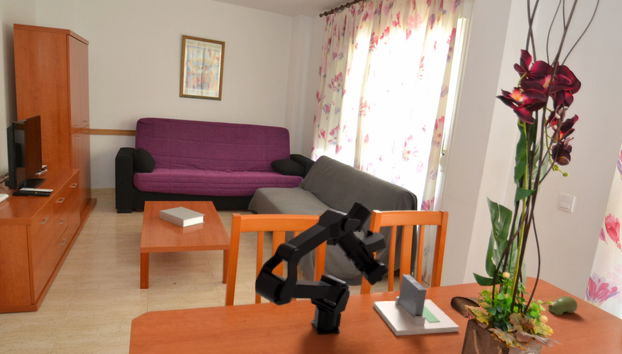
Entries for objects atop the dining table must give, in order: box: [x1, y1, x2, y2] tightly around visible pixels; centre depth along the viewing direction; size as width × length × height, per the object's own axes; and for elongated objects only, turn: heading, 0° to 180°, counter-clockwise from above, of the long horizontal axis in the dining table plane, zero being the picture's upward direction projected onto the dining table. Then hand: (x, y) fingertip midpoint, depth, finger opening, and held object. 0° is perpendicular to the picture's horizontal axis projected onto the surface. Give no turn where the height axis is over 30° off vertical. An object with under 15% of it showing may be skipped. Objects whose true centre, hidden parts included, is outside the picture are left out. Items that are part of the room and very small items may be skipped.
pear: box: [547, 295, 579, 316], centre depth 139 cm, size 6×5×10 cm
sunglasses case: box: [450, 295, 480, 318], centre depth 135 cm, size 18×7×7 cm, turn 101°
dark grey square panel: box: [398, 274, 427, 318], centre depth 123 cm, size 2×10×10 cm, turn 15°
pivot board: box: [372, 295, 460, 337], centre depth 125 cm, size 20×16×4 cm
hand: (380, 280), depth 119 cm, fingers closed
